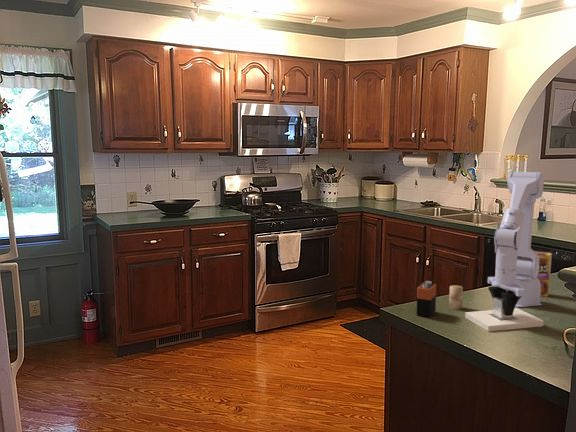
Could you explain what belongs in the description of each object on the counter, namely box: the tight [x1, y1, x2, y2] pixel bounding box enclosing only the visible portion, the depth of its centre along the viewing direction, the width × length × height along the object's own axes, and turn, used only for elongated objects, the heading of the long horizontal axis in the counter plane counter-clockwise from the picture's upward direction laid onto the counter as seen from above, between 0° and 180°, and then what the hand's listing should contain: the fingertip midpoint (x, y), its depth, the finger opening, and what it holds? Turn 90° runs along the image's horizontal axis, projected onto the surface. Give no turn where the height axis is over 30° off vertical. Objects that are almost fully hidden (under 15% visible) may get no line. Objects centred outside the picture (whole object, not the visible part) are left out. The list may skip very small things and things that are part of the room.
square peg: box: [492, 297, 513, 321], centre depth 148 cm, size 4×4×7 cm
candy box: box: [522, 250, 553, 297], centre depth 174 cm, size 9×4×15 cm, turn 56°
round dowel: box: [448, 284, 464, 311], centre depth 161 cm, size 4×4×7 cm
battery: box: [416, 280, 437, 318], centre depth 155 cm, size 4×7×10 cm, turn 148°
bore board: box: [464, 307, 545, 332], centre depth 148 cm, size 18×12×2 cm, turn 102°
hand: (503, 312), depth 148 cm, fingers closed on square peg, 4 cm apart
